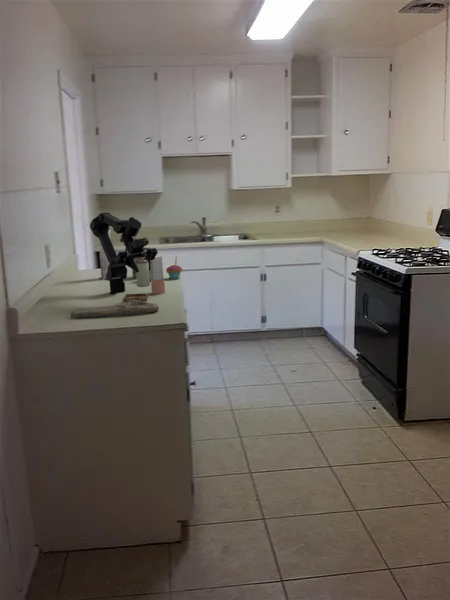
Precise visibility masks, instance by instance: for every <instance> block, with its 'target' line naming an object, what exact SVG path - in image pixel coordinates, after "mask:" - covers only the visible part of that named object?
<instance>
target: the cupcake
mask: <svg viewBox="0 0 450 600" xmlns="http://www.w3.org/2000/svg"><path fill="white" fill-rule="evenodd" d="M177 258H178V257H177V255H176V256H175V262H174V263H175V264H172V265H170V266H168V267H166V273H167V274H168V276H169V279H171V280H178V279H179V278H180V276H181V273H182V272H183V268H182V267H181V266H180V265H177V263H178V259H177Z"/></svg>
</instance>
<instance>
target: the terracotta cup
mask: <svg viewBox="0 0 450 600" xmlns="http://www.w3.org/2000/svg"><path fill="white" fill-rule="evenodd" d="M150 283H151V286H150V287H151V294H153V295H163V294H165V293H166V286H165V285H166V284H165V280H164V279H162V280H154V281H150Z"/></svg>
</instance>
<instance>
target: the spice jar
mask: <svg viewBox="0 0 450 600" xmlns="http://www.w3.org/2000/svg"><path fill="white" fill-rule="evenodd" d="M136 266H137V268H138V273H137V272H136V277H135V278H136V287H137V288H138V287H139V288H146V287H147V288H149V287H151V286H150V283H151V281H149V262H148V260H137V261H136Z"/></svg>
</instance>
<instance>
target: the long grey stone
mask: <svg viewBox="0 0 450 600" xmlns="http://www.w3.org/2000/svg"><path fill="white" fill-rule="evenodd" d="M159 307H160V306H159V304H157V303H152V302H149V301H148V300H147V301H141V300H135V299H132V300H129V301H127V302H122V303H121V302H120V303H118V304H116V305H113V306H111V305H110V306H109V305H107V306H100V307H86V308H75V309H73V310H71V311H70V318H71V319H76V320H77V319H85V318H86V319H90V318H91V319H92V318H96V319H97V318H98V319H99V318H109V317H110V318H112V317H120V316H134V315H146V314H149V313H153V312H155V313H156V312H158V311H159Z"/></svg>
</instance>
